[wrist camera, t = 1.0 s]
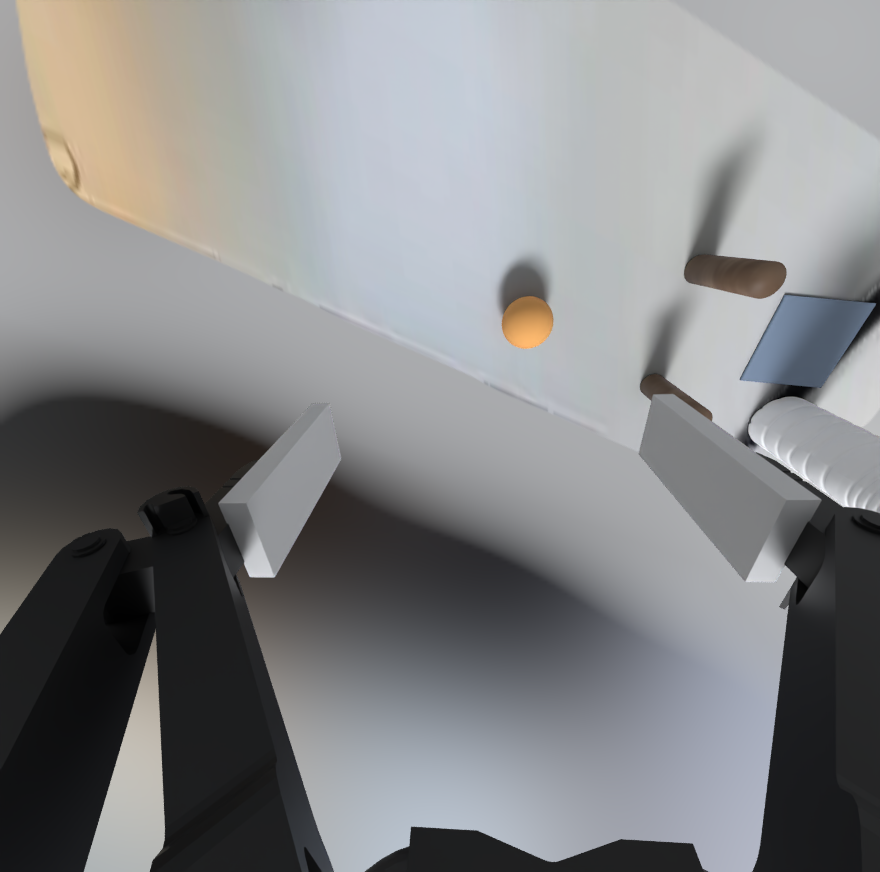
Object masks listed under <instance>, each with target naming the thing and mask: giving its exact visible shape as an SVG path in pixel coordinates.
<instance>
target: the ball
mask: <svg viewBox="0 0 880 872" xmlns="http://www.w3.org/2000/svg"><path fill="white" fill-rule="evenodd" d="M552 327H553V314H552V311H551V309H550V307H549V306H548V304H547V303H546V302H545V301H543V300H542V299H540V298H537V297H533V296H525V297H521V298H519V299H517V300H515V301H514V302H512V303H511V304H510V305H509V306H508V308H507V309H506V311H505V313H504V315H503V319H502V330H503V333H504V336H505V337H506V339H507V340H508V341H509V342H510V343H511V344H512V345H514V346H516V347H519V348H523V349H527V348H533V347H536V346H538V345H540V344H541V343H543V342H544V341H545V340H546V339H547V337H548V336H549V334H550V333H551V330H552Z"/></svg>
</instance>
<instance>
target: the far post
mask: <svg viewBox="0 0 880 872" xmlns="http://www.w3.org/2000/svg"><path fill="white" fill-rule="evenodd" d="M640 390H641V392H642V393H643V394H644V395H645V396H646V397H647V398H649V399H650V400H651V401H652V397H653V395H654V394H674V395H675V396H677V397H678V398H680V399H681V400H682V401H684V402H685V403H687V404H688V405H689V406H691V407H692V408H694V409H695V410H696V411H698V412H699V413H701V414H702V415H703V416H705V417H706V418H708V419H709V420H710V421H712V413H711V412H710V411H709V410H708V409H706V408H705V407H704V406H702V405H701V404H699V403H698V402H697V401H695V400H694V399H692V398H691V397H690V396H688V395H687V394H686V393H684V392H683V391H681V390H680V389H679V388H677V387H676V386H675V385H673V384H672V383H670V382H669V381H668V380H666V379H665V378H664V377H662V376H661V375H658V374H652V375H649V376H647V377H646V378H644V379H643V381H642V382H641V385H640Z"/></svg>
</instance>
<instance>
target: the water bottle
mask: <svg viewBox="0 0 880 872" xmlns="http://www.w3.org/2000/svg"><path fill="white" fill-rule="evenodd" d="M748 432H749V435H750V437H751V439H752V440H753V441H754V442H755V443H757V444H758V445H759V446H761V447H762V448H764V449H765V450H767V451H769V452H770V453H771V454H772V455H774V456H775V457H776V458H778V459H779V460H781V461H783V462H784V463H785V464H786V465H787V466H789V467H790V468H792V469H793V470H795V471H796V472H798V473H799V474H800V475H801V476H803V477H804V478H806V479H807V480H809V481H811V482H812V483H813V484H814V485H816V486H817V487H818V488H820V489H821V490H822V491H824V492H826V493H828V494H829V495H830V496H831V497H832V498H833V499H835V500H836V501H837V502H839V503H840V504H842V505H843V506H845V507H854V508H862V509H866V510H871V511H875V512H878V513H880V437H879V436H876V435H873V434H872V433H871V432H869V431H867V430H865V429H863V428H861V427H859V426H856V425H854V424H852V423H851V422H849V421H847V420H845V419H843V418H840V417H837V416H836V415H834V414H832V413H831V412H829V411H826V410H824V409H821V408H820V407H818V406H817V405H815V404H813V403H810V402H808V401H807V400H804V399H802V398H798V397H783V398H781V399H776V400H773V401H771V402H769V403H767V404H766V405H764V406H763V408H762V409H760V410H758V411H757V412H756V413H755V414H754V416H753V417H752V419H751V423H750V424H749V427H748Z"/></svg>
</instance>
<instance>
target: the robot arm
mask: <svg viewBox="0 0 880 872" xmlns="http://www.w3.org/2000/svg"><path fill="white" fill-rule="evenodd" d="M639 455H640V457H641V458H642V459H643V460H644V461H645V462H646V464H647V465H648V466H649V467H650V469H651V470H652V471H653V472H654V473H655V475H656V476H657V477H658V478H659V479H660V480H661V482H662V483H663V484H664V485H665V487H666V488H667V489H668V490H669V491H670V493H671V494H672V495H673V496H674V497H675V499H676V500H677V501H678V502H679V503H680V504H681V506H682V507H683V508H684V509H685V510H686V512H687V513H688V514H689V515H690V516H691V518H692V519H693V520H694V521H695V522H696V524H697V525H698V526H699V527H700V528H701V530H702V531H703V532H704V533H705V534H706V536H707V537H708V538H709V539H710V540H711V541H712V543H713V544H714V545H715V546H716V548H717V549H718V550H719V551H720V552H721V553H722V555H723V556H724V557H725V558H726V559H727V561H728V562H729V563H730V564H731V565H732V567H733V568H734V569H735V570H736V571H737V572H738V574H739V575H740V576H741V577H742V579H743V580H744V581H745V582H776V580H777V579H778V577H779V575H780V573H781V572H782V570H783V568H784V566H785V565H786V566H787V567H788V568H789V569H790V570H791V571H792V572H793V573H794V574H795V575H796V576H797V578H796V580H795V581H794V583H793V585H792V586H791V588H790V590H789V591H788V593H787V595H786V596H785V598H784V600H783V601H782V603H781V605H780V606H779V607H780V608H783V609H785V608H786V607H787V606H788V605H789V607H788V615H787V624H786V632H785V641H784V650H783V658H782V666H781V675H780V683H779V691H778V701H777V708H776V717H775V725H774V735H773V743H772V750H771V759H770V768H769V776H768V784H767V793H766V801H765V809H764V819H763V827H762V835H761V843H760V849H759V854H758V858H757V861H756V864H755V867H754V869H753V871H752V872H880V513H878V512H875V511H871V510H866V509H862V508H854V507H844V508H843V507H842V506H840V505H839V504H838V503H836V502H835V501H833V500H832V499H830V498H829V497H827V496H826V495H825V494H823V493H822V492H820V491H819V490H817V489H816V488H814V487H813V486H812V485H810V484H809V483H807V482H806V481H802V480H803V479H801V478H800V477H799V476H797V475H796V474H794V473H791V472H790V470H788V469H787V468H786V467H784V466H783V465H781V464H780V463H778V462H777V461H775V460H773V459H771V458H768V457H766V456H764V455H762V454H759V453H757V452H754V451H753V450H751V449H750V448H748V447H747V446H746V445H744V444H743V443H741V442H740V441H739V440H737V439H736V438H734V437H733V436H732V435H730V434H729V433H727V432H726V431H725V430H723V429H722V428H720V427H719V426H717V425H716V424H715V423H713V422H712V421H710V420H709V419H708V418H706V417H705V416H703V415H702V414H701V413H699V412H698V411H696V410H695V409H694V408H692V407H691V406H689V405H688V404H687V403H685V402H684V401H682V400H681V399H680V398H678V397H677V396H675V395H674V394H654V395H653V397H652V401H651V405H650V409H649V413H648V417H647V422H646V426H645V430H644V434H643V438H642V442H641V446H640V450H639ZM340 460H341V455H340V450H339V445H338V441H337V436H336V431H335V427H334V421H333V417H332V412H331V407H330V403H317V404H316V403H313V404H311V405H310V406H309V407H308V408H307V410H306V411H305V412H304V413H303V414H302V415H301V416H300V417H299V418H298V419H297V420H296V421H295V422H294V423H293V424H292V425H291V427H289V429H288V430H287V431H286V432H285V433H284V434H283V435H282V436H281V437H280V438H279V439H278V440H277V441H276V442H275V443H274V445H273V446H272V447H271V448H270V449H269V450H268V451H267V452H266V453H265V454H264V455H263V456H262V457H261V458H260V459H259V460H258V461H252V462H250V463H249V464H247V465H245V466H244V467H242V468H240V469H239V470H238V471H237V472H236V473H235V474H234V475H233V476H232V477H231V478H230V480H228V481H227V482H226V483H225V484H224V485H223V488H220V489H219V490H218V491H217V492H216V493H215V494H214V495H213V496H212V497H211V498H210V499H209V500H208V501H207V502H206V503H205V504H204V502H203V500H202V498H201V496H200V493H199V491H198V490H197V489H196V488H194V487H189V486H188V487H177V488H173V489H170V490H166V491H164V492H162V493H159V494H157V495H155V496H153V497H152V498H150V499H148V500H147V501H146V502H145V503H144V504H142V505H141V506H140V508H139V510H138V515H139V517H140V518H141V520H142V522H143V523H144V525H145V527H146V529H147V531H148V532H149V534H150V537H145V538H140V539H136V540H131V541H126V540H125V538H124V536H123V535H122V533H121V532H120V531H119V530H118V529H111V528H109V529H104V530H98V531H95V532H92V533H88V534H85V535H83V536H82V537H78V538H77V539H75V540H73V541H72V542H71V543H70V544H68V545H67V546H65V547H64V548H62V549H61V550H60V552H59V553H58V554H57V555H56V556H55V557H54V559H53V560H52V561H51V563H50V564H49V566H48V567H47V569H46V570H45V571H44V573H43V574H42V576H41V577H40V578H39V580H38V581H37V583H36V584H35V586H34V587H33V588H32V590H31V591H30V593H29V594H28V596H27V597H26V598H25V600H24V601H23V603H22V604H21V606H20V607H19V608H18V610H17V611H16V613H15V614H14V615H13V617H12V618H11V620H10V621H9V623H8V624H7V625H6V627H5V628H4V630H3V631H2V633H1V634H0V872H84V869H85V865H86V862H87V859H88V855H89V852H90V849H91V845H92V842H93V838H94V835H95V831H96V828H97V825H98V822H99V818H100V815H101V811H102V808H103V805H104V801H105V798H106V795H107V791H108V787H109V784H110V781H111V778H112V774H113V771H114V767H115V764H116V761H117V757H118V754H119V751H120V747H121V744H122V741H123V737H124V734H125V731H126V727H127V724H128V720H129V717H130V714H131V710H132V707H133V704H134V700H135V697H136V693H137V690H138V686H139V683H140V680H141V677H142V673H143V670H144V666H145V663H146V659H147V656H148V653H149V650H150V646H151V643H152V640H153V636H154V633H155V629H156V641H157V663H158V685H159V705H160V727H161V750H162V771H163V794H164V815H165V841H164V845H163V849H162V850H161V851H160V853H159V854H158V855H157V856H156V857H155V859H154V860H153V861H152V865H151V869H150V872H334V871H333V868H332V865H331V862H330V860H329V857H328V854H327V852H326V849H325V846H324V844H323V842H322V839H321V836H320V834H319V831H318V828H317V825H316V822H315V820H314V817H313V813H312V810H311V807H310V804H309V801H308V797H307V794H306V791H305V788H304V785H303V781H302V778H301V775H300V772H299V769H298V766H297V763H296V760H295V756H294V753H293V750H292V746H291V743H290V741H289V737H288V734H287V731H286V728H285V724H284V721H283V718H282V715H281V712H280V708H279V705H278V702H277V699H276V696H275V693H274V689H273V686H272V683H271V680H270V677H269V673H268V670H267V667H266V664H265V661H264V658H263V654H262V651H261V648H260V645H259V642H258V639H257V635H256V632H255V629H254V626H253V623H252V620H251V617H250V613H249V610H248V607H247V604H246V600H245V597H244V594H243V591H242V588H241V585H240V582H239V580H238V577H237V575H236V573H237V572H238V570H239V569H240V567H241V566H242V565H243V563H244V565H245V567H246V569H247V572H248V574H249V576H250V577H275V576H276V574H277V572H278V570H279V569H280V567H281V565H282V563H283V562H284V560H285V558H286V556H287V555H288V552H289V551H290V549H291V547H292V546H293V544H294V542H295V540H296V538H297V537H298V535H299V533H300V531H301V529H302V528H303V526H304V524H305V522H306V521H307V519H308V517H309V515H310V514H311V512H312V510H313V508H314V506H315V505H316V503H317V501H318V499H319V498H320V496H321V494H322V492H323V490H324V489H325V487H326V485H327V483H328V482H329V480H330V478H331V476H332V474H333V473H334V471H335V469H336V467H337V466H338V464H339V462H340ZM365 872H708V871H706V870H704V869H702V866H701V864H700V861H699V859H698V856H697V853H696V851H695V848H694V846H693V844H690V843H673V842H656V841H639V840H623V839H621V840H618V841H615V842H612V843H609V844H606V845H604V846H601V847H598V848H595V849H592V850H590V851H587V852H584V853H581V854H578V855H576V856H573V857H570V858H567V859H564V860H561V861H558V862H548V861H545V860H543V859H540V858H538V857H535V856H534V855H531V854H529V853H527V852H525V851H522V850H520V849H518V848H515V847H513V846H511V845H508V844H506V843H504V842H502V841H500V840H497V839H495V838H493V837H490V836H488V835H486V834H484V833H481V832H479V831H474V830H456V829H440V828H423V827H411V835H410V846H409V847H406V848H403V849H400V850H398V851H395V852H394V853H392V854H390V855H388V856H386V857H384V858H383V859H381V860H380V861H378V862H377V863H376V864H374V865H373V866H372V867H370V868H369V869H368V870H366V871H365Z"/></svg>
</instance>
